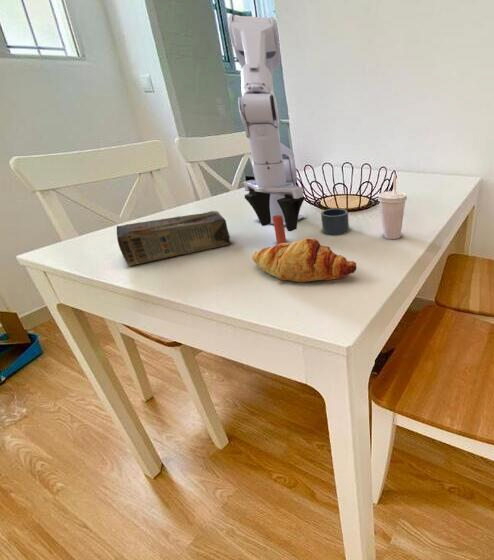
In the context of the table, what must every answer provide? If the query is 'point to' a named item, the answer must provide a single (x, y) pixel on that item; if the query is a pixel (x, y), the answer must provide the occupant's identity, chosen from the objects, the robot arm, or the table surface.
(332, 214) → the cup
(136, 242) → the coffee bag
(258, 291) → the table surface
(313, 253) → the croissant
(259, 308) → the table surface
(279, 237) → the red rectangular block
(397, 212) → the smoothie
